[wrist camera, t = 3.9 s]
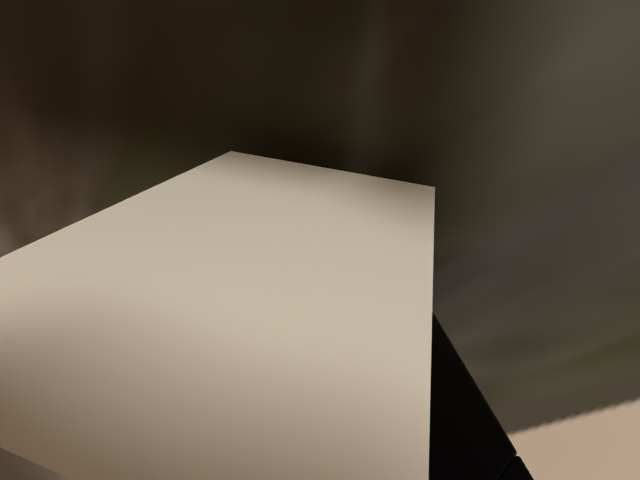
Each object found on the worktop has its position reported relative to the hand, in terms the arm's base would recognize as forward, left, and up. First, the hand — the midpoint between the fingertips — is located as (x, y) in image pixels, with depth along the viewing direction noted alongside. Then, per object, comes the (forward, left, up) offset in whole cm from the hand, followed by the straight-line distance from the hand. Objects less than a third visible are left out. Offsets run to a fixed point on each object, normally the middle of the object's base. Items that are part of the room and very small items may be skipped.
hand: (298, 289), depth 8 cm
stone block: (0, 0, -2) cm, 2 cm away
